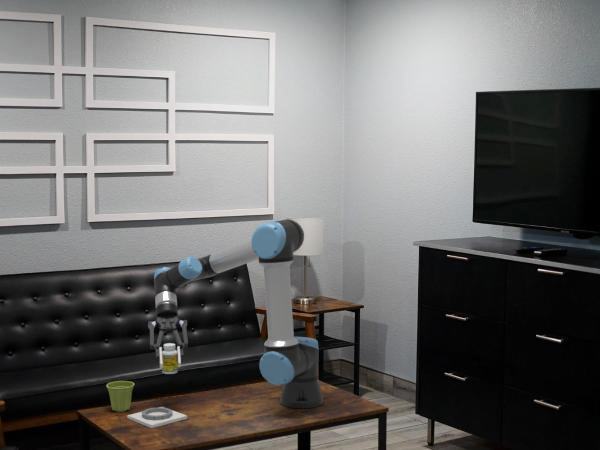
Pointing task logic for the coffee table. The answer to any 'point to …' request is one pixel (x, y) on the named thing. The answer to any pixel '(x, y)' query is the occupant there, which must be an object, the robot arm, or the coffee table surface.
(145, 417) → the socket
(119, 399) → the plant pot
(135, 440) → the coffee table surface
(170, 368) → the supplement bottle
